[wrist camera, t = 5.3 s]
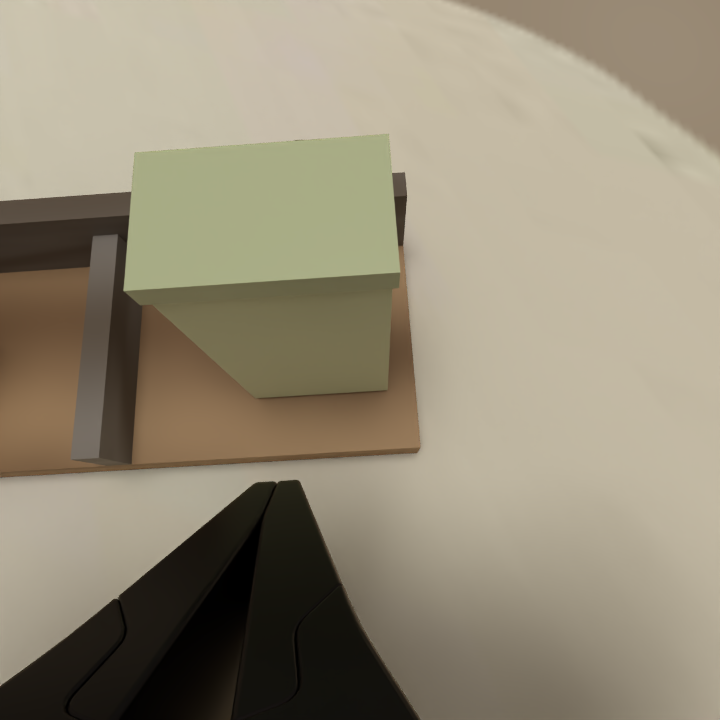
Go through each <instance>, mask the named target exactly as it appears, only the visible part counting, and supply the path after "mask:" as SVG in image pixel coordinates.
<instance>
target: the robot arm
mask: <svg viewBox="0 0 720 720" xmlns="http://www.w3.org/2000/svg"><path fill="white" fill-rule="evenodd" d="M118 600H119V601H118ZM0 720H421V719H420V718H419V716H418V715H417V713H416V712H415V710H414V708H413V707H412V705H411V704H410V702H409V701H408V699H407V698H406V696H405V694H404V693H403V691H402V690H401V688H400V687H399V685H398V684H397V682H396V681H395V679H394V677H393V676H392V674H391V673H390V671H389V670H388V668H387V667H386V665H385V663H384V662H383V660H382V659H381V657H380V656H379V654H378V653H377V651H376V649H375V648H374V646H373V644H372V643H371V641H370V639H369V637H368V636H367V634H366V632H365V631H364V629H363V627H362V625H361V623H360V621H359V619H358V617H357V615H356V613H355V611H354V609H353V607H352V604H351V602H350V600H349V598H348V595H347V593H346V590H345V588H344V587H343V584H342V582H341V580H340V577H339V575H338V572H337V570H336V568H335V565H334V563H333V560H332V558H331V556H330V553H329V551H328V548H327V546H326V544H325V541H324V539H323V536H322V534H321V532H320V529H319V527H318V524H317V522H316V519H315V517H314V515H313V512H312V510H311V507H310V505H309V503H308V500H307V498H306V495H305V493H304V491H303V488H302V486H301V483H300V482H299V481H298V480H288V481H279V482H278V483H276V482H273V481H272V482H257V483H255V484H253V485H252V486H251V487H249V488H248V489H247V490H246V491H245V492H243V493H242V494H241V495H240V496H239V497H237V498H236V499H235V500H234V501H233V502H231V503H230V504H229V505H228V506H227V507H225V508H224V509H223V510H222V511H221V512H219V513H218V514H217V515H216V516H215V517H213V518H212V519H211V520H210V521H209V522H207V523H206V524H205V525H204V526H203V527H201V528H200V529H199V530H198V531H196V532H195V533H194V534H193V535H192V536H190V537H189V538H188V539H187V540H186V541H184V542H183V543H182V544H181V545H180V546H178V547H177V548H176V549H175V550H174V551H172V552H171V553H170V554H169V555H168V556H166V557H165V558H164V559H163V560H162V561H160V562H159V563H158V564H157V565H156V566H154V567H153V568H152V569H151V570H150V571H148V572H147V573H146V574H145V575H143V576H142V577H141V578H140V579H139V580H137V581H136V582H135V583H134V584H133V585H131V586H130V587H129V588H128V589H127V590H125V591H124V592H123V593H122V594H121V595H119V597H118V599H113V600H112V601H111V602H110V603H109V604H107V605H106V606H105V607H104V608H102V609H101V610H100V611H99V612H98V613H96V614H95V615H94V616H93V617H91V618H90V619H89V620H88V621H86V622H85V623H84V624H83V625H81V626H80V627H79V628H78V629H76V630H75V631H74V632H73V633H71V634H70V635H69V636H68V637H66V638H65V639H64V640H62V641H61V642H60V643H58V644H57V645H56V646H54V647H53V648H52V649H50V650H49V651H48V652H46V653H45V654H44V655H42V656H41V657H40V658H38V659H37V660H36V661H34V662H33V663H31V664H30V665H29V666H27V667H26V668H25V669H23V670H22V671H21V672H19V673H18V674H16V675H15V676H14V677H12V678H11V679H9V680H8V681H7V682H5V683H4V684H2V685H1V686H0Z"/></svg>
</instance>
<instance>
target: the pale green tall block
mask: <svg viewBox="0 0 720 720" xmlns="http://www.w3.org/2000/svg"><path fill="white" fill-rule="evenodd" d="M399 282H400V263H399V251H398V239H397V227H396V215H395V203H394V191H393V179H392V167H391V155H390V143H389V134H381V135H368V136H354V137H341V138H327V139H313V140H300V141H286V142H272V143H259V144H245V145H231V146H218V147H204V148H190V149H177V150H163V151H149V152H136V153H135V154H134V166H133V179H132V191H131V204H130V216H129V229H128V241H127V254H126V266H125V279H124V292H125V293H126V294H128V295H129V296H130V297H131V298H132V299H133V300H135V301H136V302H137V303H138V304H139V305H153V306H154V307H155V308H156V309H157V310H159V311H160V312H161V313H162V314H163V315H164V316H165V317H166V318H167V319H168V320H170V321H171V322H172V323H173V324H174V325H175V326H176V327H177V328H178V329H179V330H181V331H182V332H183V333H184V334H185V335H186V336H187V337H188V338H189V339H190V340H192V341H193V342H194V343H195V344H196V345H197V346H198V347H199V348H200V349H201V350H203V351H204V352H205V353H206V354H207V355H208V356H209V357H210V358H211V359H212V360H214V361H215V362H216V363H217V364H218V365H219V366H220V367H221V368H222V369H223V370H225V371H226V372H227V373H228V374H229V375H230V376H231V377H232V378H233V379H234V380H236V381H237V382H238V383H239V384H240V385H241V386H242V387H243V388H244V389H245V390H247V391H248V392H249V393H250V394H251V395H252V396H253V397H254V398H269V397H286V396H302V395H318V394H334V393H350V392H366V391H382V390H388V373H389V351H390V330H391V308H392V289H394V288H399Z"/></svg>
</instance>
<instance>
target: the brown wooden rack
mask: <svg viewBox="0 0 720 720" xmlns="http://www.w3.org/2000/svg"><path fill="white" fill-rule="evenodd" d="M295 141H300V140H295ZM392 179H393V191H394V203H395V215H396V227H397V239H398V251H399V263H400V282H399V288H394V289H392V308H391V330H390V351H389V373H388V390H382V391H366V392H350V393H334V394H318V395H302V396H286V397H269V398H254V397H253V396H252V395H251V394H250V393H249V392H248V391H247V390H245V389H244V388H243V387H242V386H241V385H240V384H239V383H238V382H237V381H236V380H234V379H233V378H232V377H231V376H230V375H229V374H228V373H227V372H226V371H225V370H223V369H222V368H221V367H220V366H219V365H218V364H217V363H216V362H215V361H214V360H212V359H211V358H210V357H209V356H208V355H207V354H206V353H205V352H204V351H203V350H201V349H200V348H199V347H198V346H197V345H196V344H195V343H194V342H193V341H192V340H190V339H189V338H188V337H187V336H186V335H185V334H184V333H183V332H182V331H181V330H179V329H178V328H177V327H176V326H175V325H174V324H173V323H172V322H171V321H170V320H168V319H167V318H166V317H165V316H164V315H163V314H162V313H161V312H160V311H159V310H157V309H156V308H155V307H154V306H153V305H139V304H138V303H137V302H136V301H135V300H133V299H132V298H131V297H130V296H129V295H128V294H126V293H125V292H124V279H125V266H126V254H127V241H128V229H129V216H130V204H131V192H123V193H109V194H95V195H81V196H67V197H53V198H39V199H25V200H11V201H0V477H13V476H30V475H47V474H64V473H81V472H98V471H115V470H132V469H149V468H166V467H183V466H200V465H217V464H234V463H251V462H267V461H284V460H301V459H318V458H335V457H352V456H369V455H386V454H403V453H417V452H418V451H419V449H420V436H419V425H418V413H417V402H416V390H415V378H414V367H413V355H412V344H411V332H410V320H409V309H408V297H407V286H406V274H405V262H404V251H403V240H404V227H405V215H406V202H407V190H406V179H405V172H403V173H392Z"/></svg>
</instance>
